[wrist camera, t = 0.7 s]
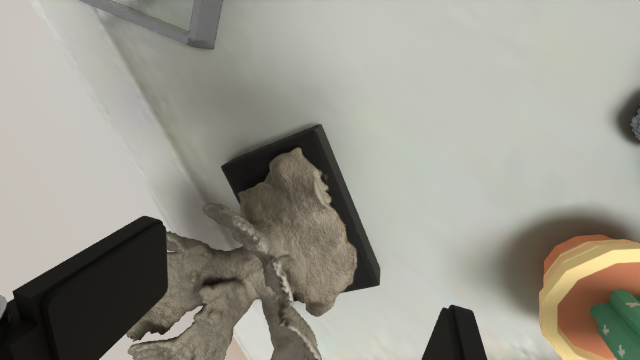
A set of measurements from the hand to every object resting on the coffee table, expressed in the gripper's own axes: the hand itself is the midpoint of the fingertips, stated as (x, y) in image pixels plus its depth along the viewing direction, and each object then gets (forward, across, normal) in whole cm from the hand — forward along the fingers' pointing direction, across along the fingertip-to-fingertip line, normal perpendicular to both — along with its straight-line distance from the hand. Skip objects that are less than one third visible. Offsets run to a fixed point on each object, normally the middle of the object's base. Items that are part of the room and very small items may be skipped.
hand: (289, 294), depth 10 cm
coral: (+29, +8, +16) cm, 34 cm away
